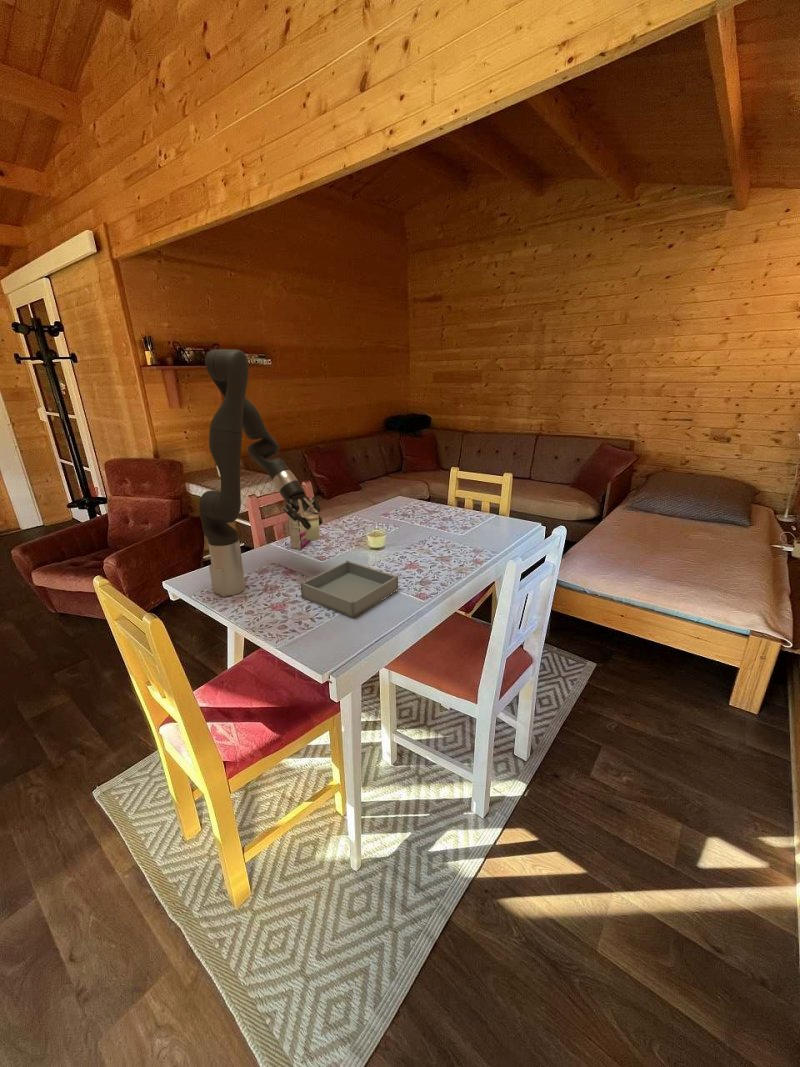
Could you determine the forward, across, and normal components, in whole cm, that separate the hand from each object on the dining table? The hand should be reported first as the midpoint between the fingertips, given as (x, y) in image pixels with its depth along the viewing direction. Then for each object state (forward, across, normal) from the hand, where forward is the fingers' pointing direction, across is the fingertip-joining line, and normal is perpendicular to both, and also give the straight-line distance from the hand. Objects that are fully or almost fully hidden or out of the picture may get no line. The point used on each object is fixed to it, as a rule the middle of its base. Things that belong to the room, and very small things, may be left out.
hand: (315, 525), depth 152 cm
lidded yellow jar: (+2, 0, +4) cm, 5 cm away
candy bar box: (-6, +17, +32) cm, 37 cm away
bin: (+26, -4, 0) cm, 27 cm away
